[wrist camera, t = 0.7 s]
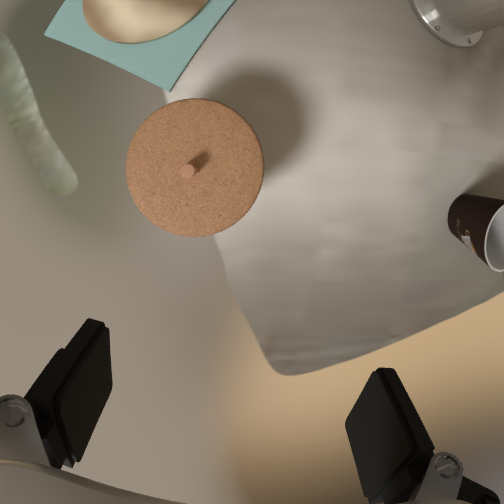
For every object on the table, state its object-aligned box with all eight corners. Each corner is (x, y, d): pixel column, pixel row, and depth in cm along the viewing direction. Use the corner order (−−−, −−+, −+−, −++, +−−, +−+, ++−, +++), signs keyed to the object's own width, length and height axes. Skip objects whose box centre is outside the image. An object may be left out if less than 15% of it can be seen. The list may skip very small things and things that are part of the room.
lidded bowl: (141, 196, 37) (103, 219, 27) (171, 96, 33) (141, 80, 23) (239, 228, 39) (236, 262, 28) (275, 127, 35) (287, 122, 24)
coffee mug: (439, 192, 37) (484, 209, 28) (483, 182, 36) (529, 196, 27) (442, 270, 41) (480, 301, 31) (484, 256, 40) (524, 282, 31)
